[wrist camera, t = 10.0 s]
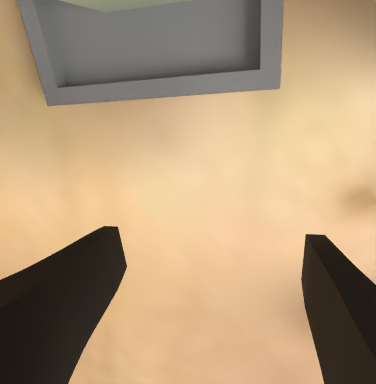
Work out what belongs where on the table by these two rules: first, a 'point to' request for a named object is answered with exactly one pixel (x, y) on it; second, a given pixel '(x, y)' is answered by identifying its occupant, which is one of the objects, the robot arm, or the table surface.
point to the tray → (154, 49)
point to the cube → (119, 4)
